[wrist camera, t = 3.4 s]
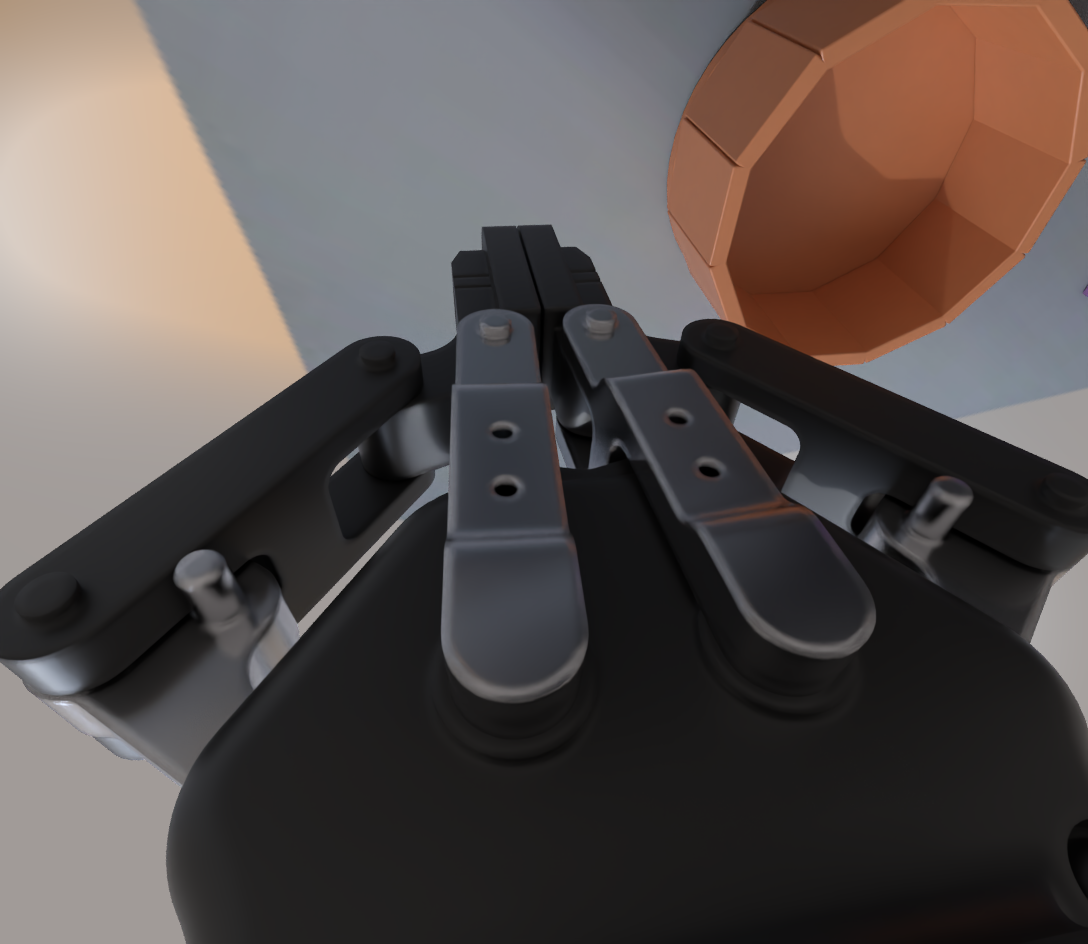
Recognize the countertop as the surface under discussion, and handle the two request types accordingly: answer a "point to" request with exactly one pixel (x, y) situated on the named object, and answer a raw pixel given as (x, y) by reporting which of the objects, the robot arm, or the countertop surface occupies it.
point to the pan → (875, 163)
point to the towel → (1086, 291)
